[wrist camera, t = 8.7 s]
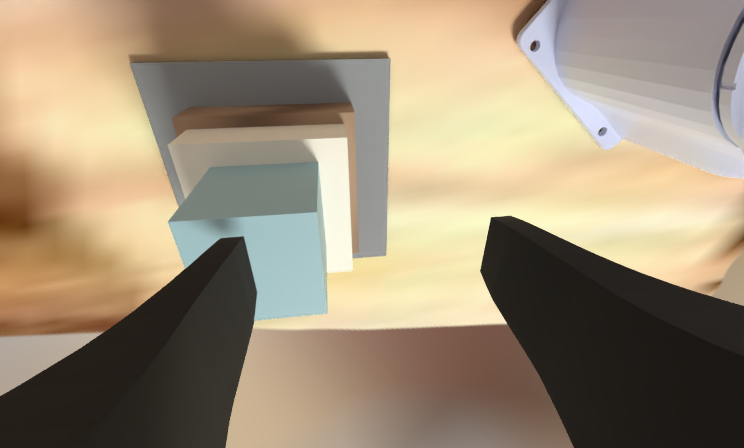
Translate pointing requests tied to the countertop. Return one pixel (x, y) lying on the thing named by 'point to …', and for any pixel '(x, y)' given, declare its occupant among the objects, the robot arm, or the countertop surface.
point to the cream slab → (278, 147)
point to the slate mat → (277, 87)
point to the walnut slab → (281, 117)
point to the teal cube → (263, 231)
